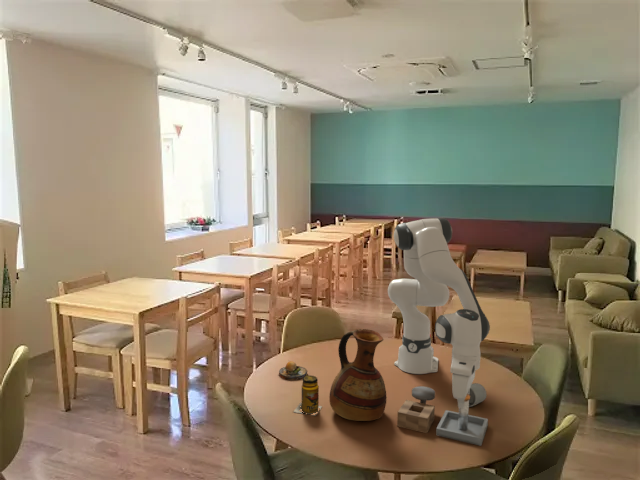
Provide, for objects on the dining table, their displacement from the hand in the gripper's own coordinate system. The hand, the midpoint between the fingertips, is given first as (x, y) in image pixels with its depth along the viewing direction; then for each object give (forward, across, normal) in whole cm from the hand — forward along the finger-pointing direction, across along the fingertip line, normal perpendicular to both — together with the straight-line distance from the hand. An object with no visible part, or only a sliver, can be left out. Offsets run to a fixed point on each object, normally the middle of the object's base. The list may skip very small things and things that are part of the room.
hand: (463, 401), depth 162 cm
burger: (+11, -15, -72) cm, 74 cm away
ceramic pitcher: (+10, +5, -35) cm, 37 cm away
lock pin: (+10, 0, 0) cm, 10 cm away
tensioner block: (+10, -2, -15) cm, 18 cm away
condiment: (+10, +10, -52) cm, 54 cm away
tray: (+10, 0, 0) cm, 10 cm away
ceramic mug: (+10, -22, -1) cm, 25 cm away
